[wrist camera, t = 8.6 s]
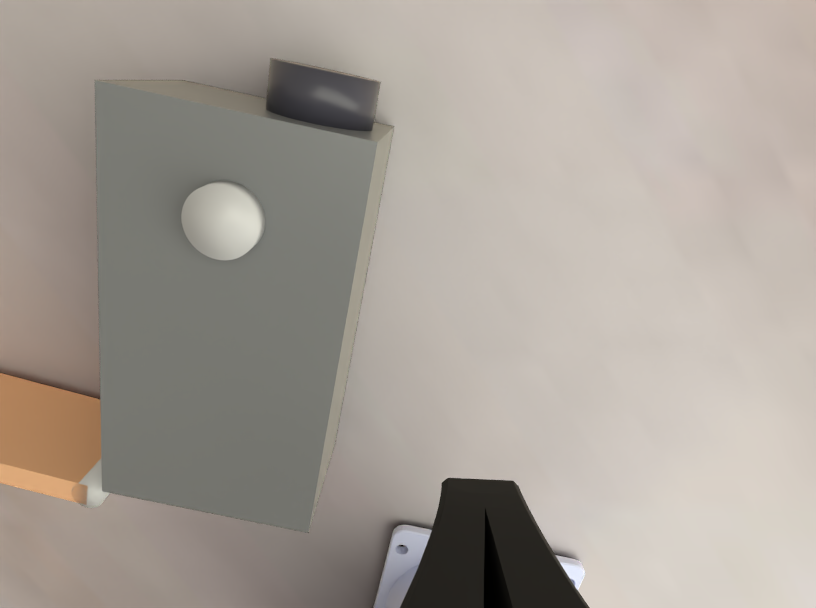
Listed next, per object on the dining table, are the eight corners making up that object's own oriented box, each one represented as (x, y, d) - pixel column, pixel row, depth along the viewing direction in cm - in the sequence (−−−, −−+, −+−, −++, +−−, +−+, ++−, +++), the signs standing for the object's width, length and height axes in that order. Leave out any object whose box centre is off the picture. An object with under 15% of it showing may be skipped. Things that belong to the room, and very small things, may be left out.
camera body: (335, 444, 21) (303, 548, 16) (169, 409, 21) (90, 505, 16) (401, 85, 16) (385, 86, 11) (184, 36, 16) (76, 18, 11)
